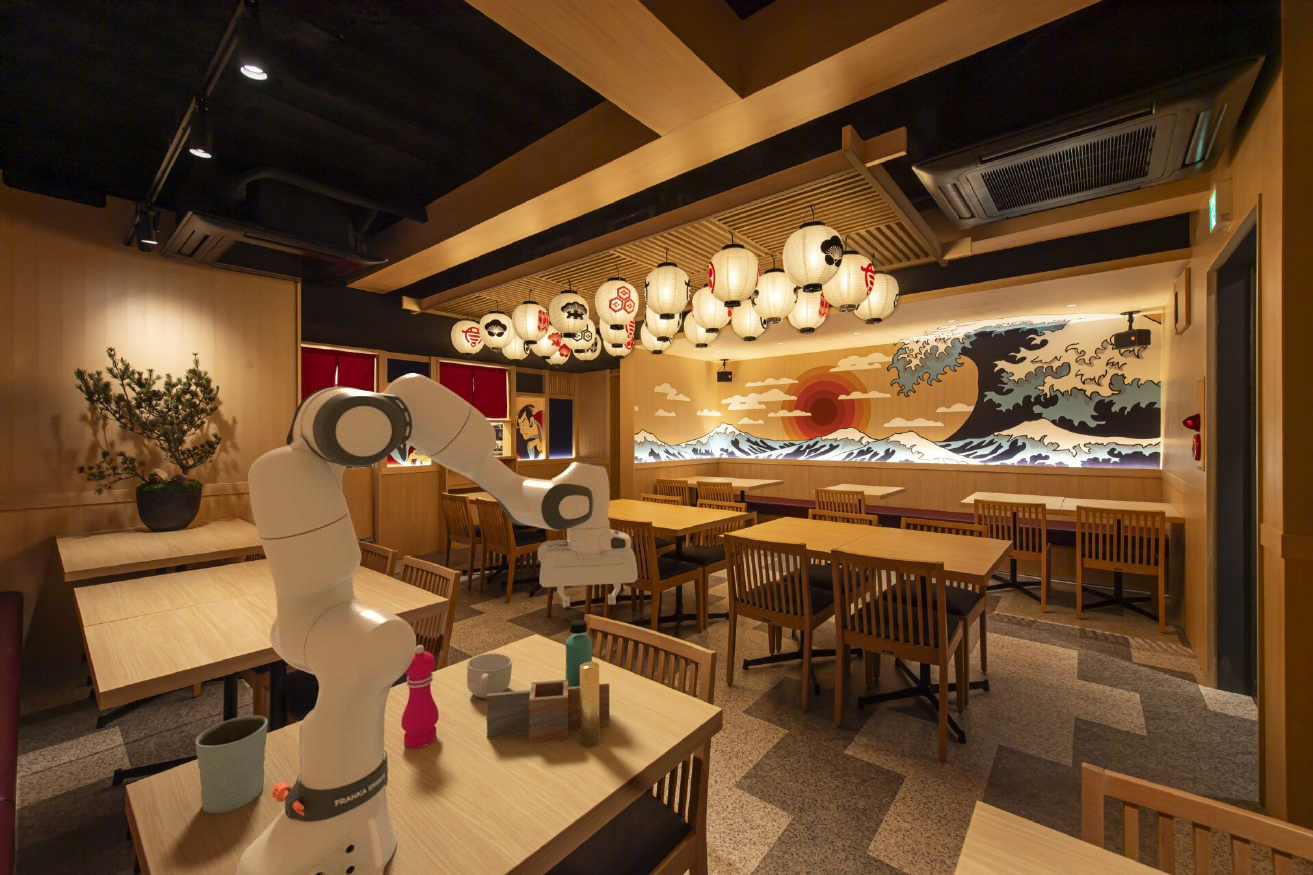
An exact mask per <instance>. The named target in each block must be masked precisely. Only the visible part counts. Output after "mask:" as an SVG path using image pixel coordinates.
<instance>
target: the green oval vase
mask: <svg viewBox="0 0 1313 875" xmlns="http://www.w3.org/2000/svg"><path fill="white" fill-rule="evenodd" d="M268 723H269V722H268V719H267V717H266V716H262V715H246V716H239V717H236V718H235V717H234V718H231V719H228V720H225V721H221V722H220V723H217V724H215V725H212V726H210V727H209V728H207V729H206V730H204V731H203V732H201V733H200V734H199V735H198V736H197V737H196V739H195V751H196V757H197V767H198V769H199V780H200V788H201V789H200V798H201V806H202V810H203V811H204V812H205V813H207V814H208V813H209V814H225V813H227V812H230V811H234V810H237V809H240V808H242V807H243V806H245V805H248V804H249V803H251V802H252V801H254V800H255V799H256V798H257V797H259V796H260V795H261V793H262V791H263V789H264V784H265V766H264V763H265V760H266V755H265V754H266V753H265V752H266V750H265V749H266V745H267V735H268Z"/></svg>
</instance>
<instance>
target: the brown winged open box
mask: <svg viewBox="0 0 1313 875" xmlns="http://www.w3.org/2000/svg"><path fill="white" fill-rule="evenodd" d="M610 717H611V716H610V683H599V728H604V727H606V728H607V727H610V725H611V723H610V719H611V718H610ZM575 730H580V686H574V687H568V680H566V679H561V680H547V681H535V682H534V681H533V682H531V686H530V689H527V690H515V691H503V692H501V693H489V694H487V698H486V738H487V739H490V738H491V739H492V738H501V737H511V736H523V735H528V736H529V740H528V742H529V744H534V743H535V744H536V743H545V742H547V743H548V742H556V741H557V742H558V741H566V740H569V731H575Z"/></svg>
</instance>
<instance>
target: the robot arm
mask: <svg viewBox="0 0 1313 875" xmlns="http://www.w3.org/2000/svg"><path fill="white" fill-rule="evenodd" d="M496 443H497V433H496V429H495V427H494V426H493V425H492V423H491V422H490V421H489V420H488V418H487V417H486V416H485V414H482V412H481V411H480V410H478V409H477V408H475V406H473V405H472V404H471V403H469V402H468V401H466V400H465V399H464V398H462V397H461V396H459V395H458V394H457V393H455V392H454V391H452V390H450V389H449V388H447V387H446V386H444V385H443V384H440V383H439V382H436V381H435V380H433V379H431V378H430V377H427V376H425V375H423V374H419V373H406V374H404V375H402V376H399V377H398V378H396V379H394V380H393V381H392V382H391V383H389V385H388V386H387V387H386V388H385V390H383V391H382V392H374V391H369V390H368V391H367V390H362V389H359V388H355V387H350V386H333V387H329V386H328V387H323V388H319V389H316V390H315V391H313V392H311V393H309V394H307V395H306V396H305V397H304V398H303V399H302V400H301V402H299V405H298V406H297V408H296V410H295V412H294V415H293V418H292V422H291V425H290V427H289V431H288V433H287V437H286V445H285V446H282V447H278V448H275V449H272V450H270V451H267V452H265V453H264V454H262V455H260V457H258V458H256V459H255V460H254V461H253V462H252V464H251V465H250V467H249V470H248V474H247V475H248V476H247V481H248V482H247V483H248V491H249V501H250V505H251V512H252V516H253V520H254V524H255V528H256V531H257V534H258V537H259V540H260V543H261V545H262V546H261V547H262V549H263V552H264V556H265V558H266V561H267V564H268V568H269V571H270V573H271V576H272V577H271V578H272V580H273V583H274V589H275V598H276V618H275V619H274V620H273V623H272V625H271V628H270V633H269V634H270V635H269V639H270V644H271V646H272V649H273V650H274V651H275V653H276V654H278V655H279V657H280V658H281V659H282V660H284V662H285V663H287V664H288V665H289V666H291V667H292V668H295V669H297V670H300V671H304V672H305V673H308V674H312V675H313V676H315V678H316V680H317V681H318V693H317V694H318V695H317V700H316V703H315V705H314V708H312V709H311V711H309V712H308V713H307V714H306V715H305V716H304V718H303V720H302V722H301V723H300V727H299V774H298V776H297V778H296V780H295V783H294V784H293V785H292V787H291V786H289V784H288V783H287V782H285V781H281V782H278V783H277V784H275V785H274V786H273V788H272V789H271V792H270V793H271V794H270V795H271V797H273V798H274V799H275V801H276V802H278V803H283V802H284V809H283V810H282V811H281V812H280V813H279V814H278V815H277V816H276V817H275V819H273V821H272V822H270V824H269V825H268V826H267V827H266V828H265V829H264V830H263V831H262V832H261V833H260V834H259V835H258V836H257V837H256V839H254V841H253V842H252V843H251V844H249V845H248V847H247V848H246V849H245V850H244V851H243V853H242V855H241V856H240V859H239V860H238V863H237V868H236V871H235V875H384V870H385V867H386V865H387V864H388V863H389V861H390V859H391V858H392V856H393V855H394V852H395V850H396V848H397V844H398V843H397V841H398V840H397V839H398V838H397V834H396V831H395V829H394V826H393V824H392V823H393V822H392V820H391V816H390V810H389V805H388V798H387V786H388V782H389V780H388V779H389V778H388V777H389V776H388V774H389V766H388V754H387V751H386V750H385V713H386V706H387V705H386V704H387V700H388V697H389V693H390V690H391V687H392V686H393V684H395V682H397V681H398V680H399V679H400V678H401V677H402V676H403V675H404V674H405V671H406V670H407V668H408V667H409V665H410V663H411V661H412V659H413V656H414V653H415V649H416V647H417V637H416V633H415V630H414V628H413V627H412V626H411V624H409V622H407V621H405V620H404V619H402V618H401V617H400V616H398V615H397V614H395V613H393V612H392V611H390V610H388V609H385V608H380V607H376V606H372V605H367V604H365V603H362V602H360V601H359V599H358V598H357V596H356V595H355V591H354V586H353V585H354V584H353V583H354V573H355V572H356V571H357V569H358V568H359V566H360V564H361V562H362V552H361V547H360V545H359V544H360V543H359V542H358V538H357V534H356V531H355V527H354V523H353V521H352V518H351V514H350V509H349V506H348V504H347V503H348V502H347V500H346V497H345V495H344V492H343V488H344V487H343V477H344V473H345V470H346V468H363V467H368V466H371V465H374V464H377V463H379V462H380V461H382V460H384V459H385V458H387V457H388V456H390V454H392V453H393V452H394V451H395V450H396V449H398V448H399V447H400V446H401V445H404V444H407V445H409V446H411V447H413V448H414V449H416V450H417V451H418V452H420V453H421V454H422V455H425V456H426V457H428V458H429V459H431V460H432V461H434V462H436V463H437V464H439V465H441V466H442V467H444V468H446V469H448V470H451V471H452V472H454V473H457V474H460V475H461V476H464V477H465V478H467V479H468V480H469V481H471V482H472V483H473V484H475V485H476V486H477V487H479V488H480V489H481V490H483V491H485V493H487V494H488V495H490V496H491V497H492V498H494V499H495V501H496V502H497V503H498V505H499V506H500V508H501V509H502V511H503V512H504V514H505V516H506V517H507V518H508V519H509V521H511V522H512V523H514V524H515V525H519V526H528V527H536V528H540V529H546V530H551V531H564V530H566V532H567V533H566V534H567V535H566V539H561V540H560V539H558V540H546V541H545V542H542V543H541V544H540V545H539V547H537V559H538V561H539V562H540V568H539V570H540V571H539V584H540V585H541V587H542V588H557V589H556V592H557V594H558V595H559V597H560V598H561V600H562V608H570V607H571V596H567V595H566V593H564V591H565V587H575V586H590V585H592V586H595V585H610V584H613V585H612V586H613V588H614V589H613V591H612V593H608V594H607V604H608V605H609V606H610V605H611V606H612V605H616V603H617V602H616V597H617V595H618V594H619V592H620V591H621V588H622V587H621V585H622V584H632V583H635V582H636V581H637V580H638V577H639V576H638V564H637V559H636V555H635V553H634V551H633V549H632V547H631V546H632V539H631V537H630V535H628V534H627V533H625V532H623V531H622V532H621V531H619V530H615V529H611V526H610V525H611V522H610V519H609V515H608V514H609V513H608V511H609V507H610V504H611V503H610V495H611V494H610V482H609V476H608V472H607V469H606V467H604V466H603V465H602V464H599V463H595V462H586V461H573V462H571V463H570V464H569V466H568V467H567V468H566V469H565V470H564V471H563V472H561V473H560V474H559V475H557V476H555V477H552V478H551V479H543V478H542V479H541V478H534V477H531V476H526V475H525V476H524V475H520V474H517V473H516V472H514V471H513V470H512V469H510V468H509V467H508V466H507V465H505V464H504V463H503V462H502V461H501V460H499V459H498V458H497V457H496V456H495V455H494V454H493V452H494V450H495V447H496Z"/></svg>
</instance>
